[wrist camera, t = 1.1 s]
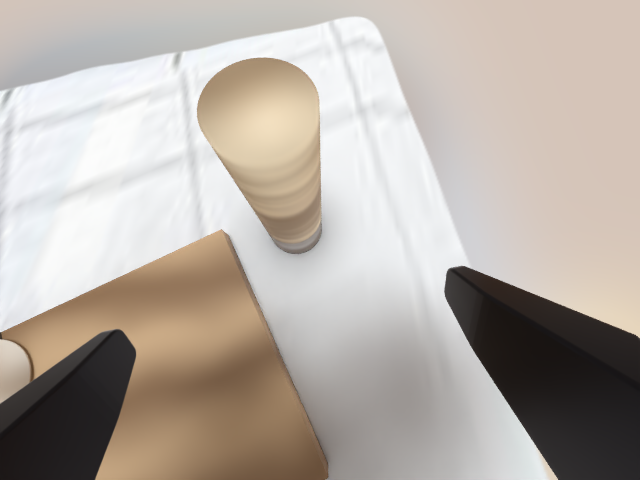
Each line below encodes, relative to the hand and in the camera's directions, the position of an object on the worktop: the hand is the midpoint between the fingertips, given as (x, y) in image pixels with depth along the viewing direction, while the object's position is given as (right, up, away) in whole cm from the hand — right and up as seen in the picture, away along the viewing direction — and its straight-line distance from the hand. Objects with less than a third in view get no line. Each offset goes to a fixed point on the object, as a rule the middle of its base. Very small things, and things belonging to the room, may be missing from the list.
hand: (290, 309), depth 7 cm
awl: (-1, +3, +14) cm, 14 cm away
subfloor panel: (-11, -9, +10) cm, 18 cm away
